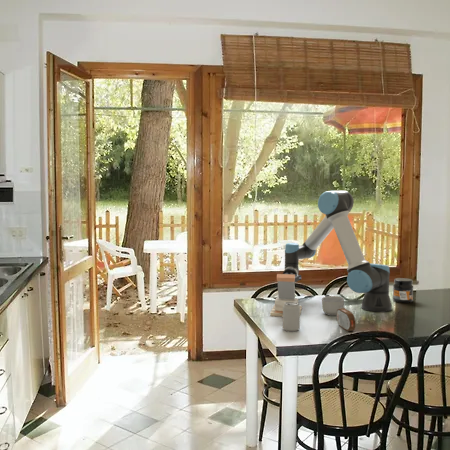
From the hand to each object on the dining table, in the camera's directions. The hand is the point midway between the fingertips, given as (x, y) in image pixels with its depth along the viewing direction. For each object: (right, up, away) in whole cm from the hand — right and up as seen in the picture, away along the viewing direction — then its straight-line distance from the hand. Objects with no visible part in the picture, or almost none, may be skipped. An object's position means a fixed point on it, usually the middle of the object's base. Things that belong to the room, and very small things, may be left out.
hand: (286, 282), depth 272 cm
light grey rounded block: (+23, -15, +2) cm, 28 cm away
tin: (+23, -18, -26) cm, 39 cm away
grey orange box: (0, -8, +2) cm, 9 cm away
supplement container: (+67, -13, +30) cm, 75 cm away
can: (-1, -18, -29) cm, 34 cm away
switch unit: (0, -15, +3) cm, 15 cm away
